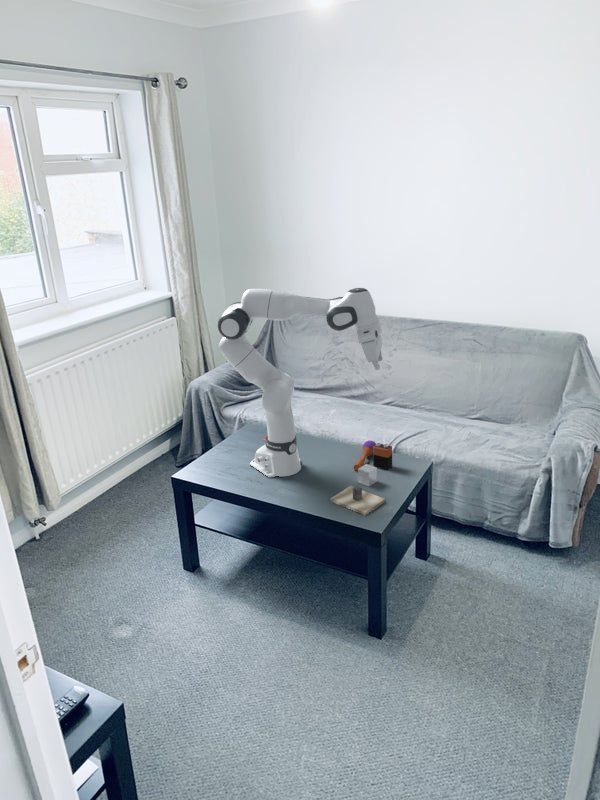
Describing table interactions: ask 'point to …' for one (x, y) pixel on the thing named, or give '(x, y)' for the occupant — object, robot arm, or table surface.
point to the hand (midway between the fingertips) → (379, 364)
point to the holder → (357, 500)
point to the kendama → (365, 453)
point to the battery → (382, 456)
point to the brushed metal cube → (367, 475)
